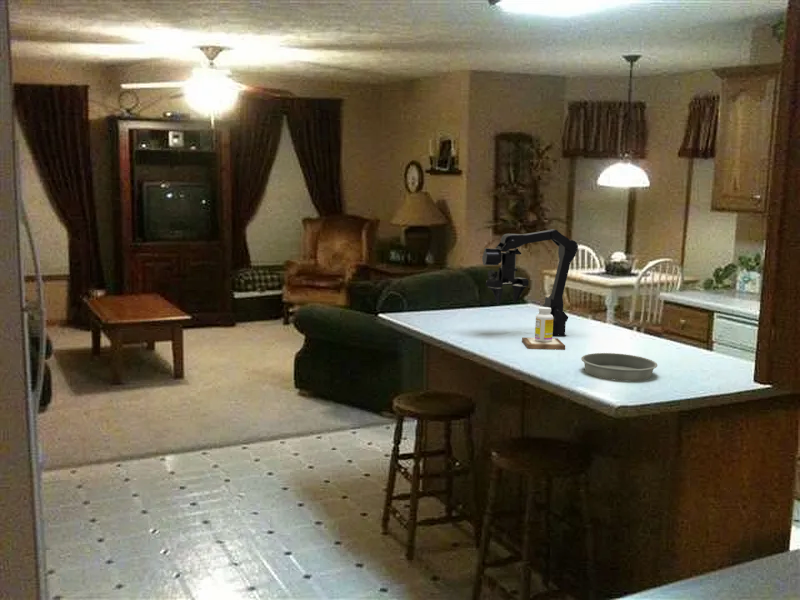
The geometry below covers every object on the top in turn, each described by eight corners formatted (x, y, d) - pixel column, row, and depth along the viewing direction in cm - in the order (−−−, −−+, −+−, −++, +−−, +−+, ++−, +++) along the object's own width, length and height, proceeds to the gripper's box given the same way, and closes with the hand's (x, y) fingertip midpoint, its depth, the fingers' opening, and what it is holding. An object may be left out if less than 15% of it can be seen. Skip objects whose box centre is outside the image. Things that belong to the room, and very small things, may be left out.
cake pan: (611, 385, 260) (612, 371, 259) (565, 367, 282) (566, 354, 281) (672, 379, 270) (673, 366, 269) (624, 363, 292) (625, 351, 291)
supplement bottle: (554, 340, 319) (556, 307, 318) (549, 343, 313) (551, 309, 312) (537, 338, 322) (539, 305, 320) (532, 341, 316) (534, 308, 314)
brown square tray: (557, 342, 325) (557, 337, 325) (565, 349, 311) (565, 345, 311) (521, 341, 325) (522, 336, 324) (528, 348, 311) (528, 344, 311)
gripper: (511, 262, 344) (509, 299, 346) (477, 264, 333) (475, 302, 336) (530, 265, 335) (528, 303, 338) (496, 267, 324) (494, 306, 327)
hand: (506, 303), depth 335 cm, fingers open, 9 cm apart
